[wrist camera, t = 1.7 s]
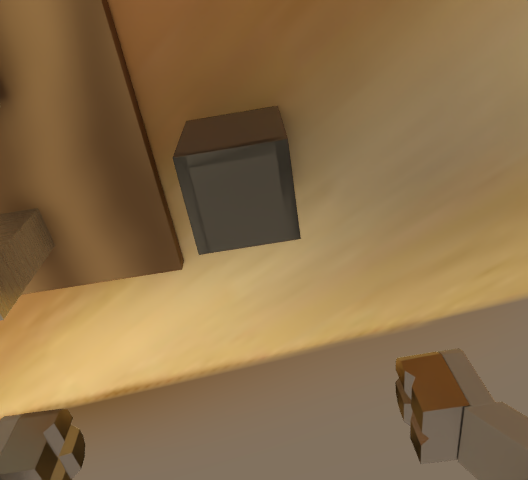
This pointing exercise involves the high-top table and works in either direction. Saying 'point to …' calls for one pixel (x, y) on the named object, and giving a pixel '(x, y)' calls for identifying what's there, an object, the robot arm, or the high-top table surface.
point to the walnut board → (78, 146)
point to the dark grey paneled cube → (237, 180)
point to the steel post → (21, 253)
